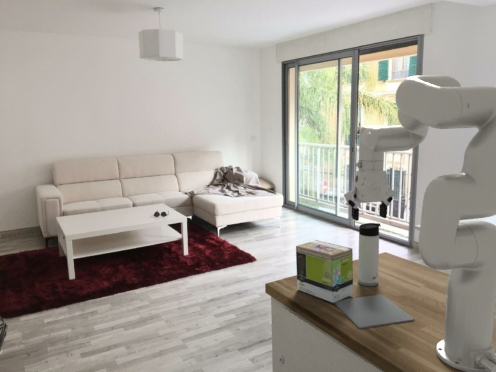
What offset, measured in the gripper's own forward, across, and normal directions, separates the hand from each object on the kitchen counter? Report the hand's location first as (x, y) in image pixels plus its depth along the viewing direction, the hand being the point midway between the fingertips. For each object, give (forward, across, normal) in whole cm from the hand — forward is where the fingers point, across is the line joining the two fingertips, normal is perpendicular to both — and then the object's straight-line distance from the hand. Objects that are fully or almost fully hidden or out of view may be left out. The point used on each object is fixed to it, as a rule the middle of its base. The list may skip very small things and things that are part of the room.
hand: (369, 218), depth 133 cm
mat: (+21, -9, -19) cm, 30 cm away
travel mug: (+22, 0, -1) cm, 22 cm away
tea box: (+22, -17, -4) cm, 28 cm away
